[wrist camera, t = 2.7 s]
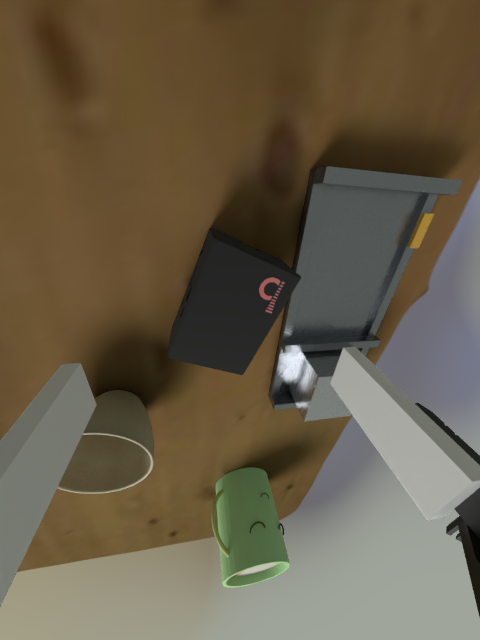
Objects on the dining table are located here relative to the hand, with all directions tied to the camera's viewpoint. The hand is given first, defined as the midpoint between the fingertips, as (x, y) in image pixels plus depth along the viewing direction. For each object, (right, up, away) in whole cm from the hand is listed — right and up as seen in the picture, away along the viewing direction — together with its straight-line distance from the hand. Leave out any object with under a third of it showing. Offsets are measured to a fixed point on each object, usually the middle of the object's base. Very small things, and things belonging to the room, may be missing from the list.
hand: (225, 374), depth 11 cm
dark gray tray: (+11, +4, +13) cm, 18 cm away
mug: (0, -28, +30) cm, 41 cm away
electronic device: (-1, +5, +11) cm, 12 cm away
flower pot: (-14, -7, +15) cm, 22 cm away
